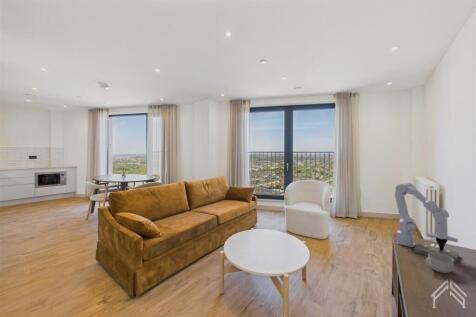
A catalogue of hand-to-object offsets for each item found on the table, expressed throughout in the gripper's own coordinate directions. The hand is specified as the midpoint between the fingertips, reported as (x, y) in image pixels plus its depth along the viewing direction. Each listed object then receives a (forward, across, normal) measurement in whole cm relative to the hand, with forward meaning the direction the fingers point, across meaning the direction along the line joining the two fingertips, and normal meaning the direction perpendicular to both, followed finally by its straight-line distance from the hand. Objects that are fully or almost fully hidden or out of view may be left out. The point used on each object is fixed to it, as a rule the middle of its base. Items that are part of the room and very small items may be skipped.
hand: (441, 250), depth 139 cm
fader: (+1, -3, 0) cm, 3 cm away
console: (+3, -3, 0) cm, 5 cm away
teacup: (+4, +1, -24) cm, 24 cm away
